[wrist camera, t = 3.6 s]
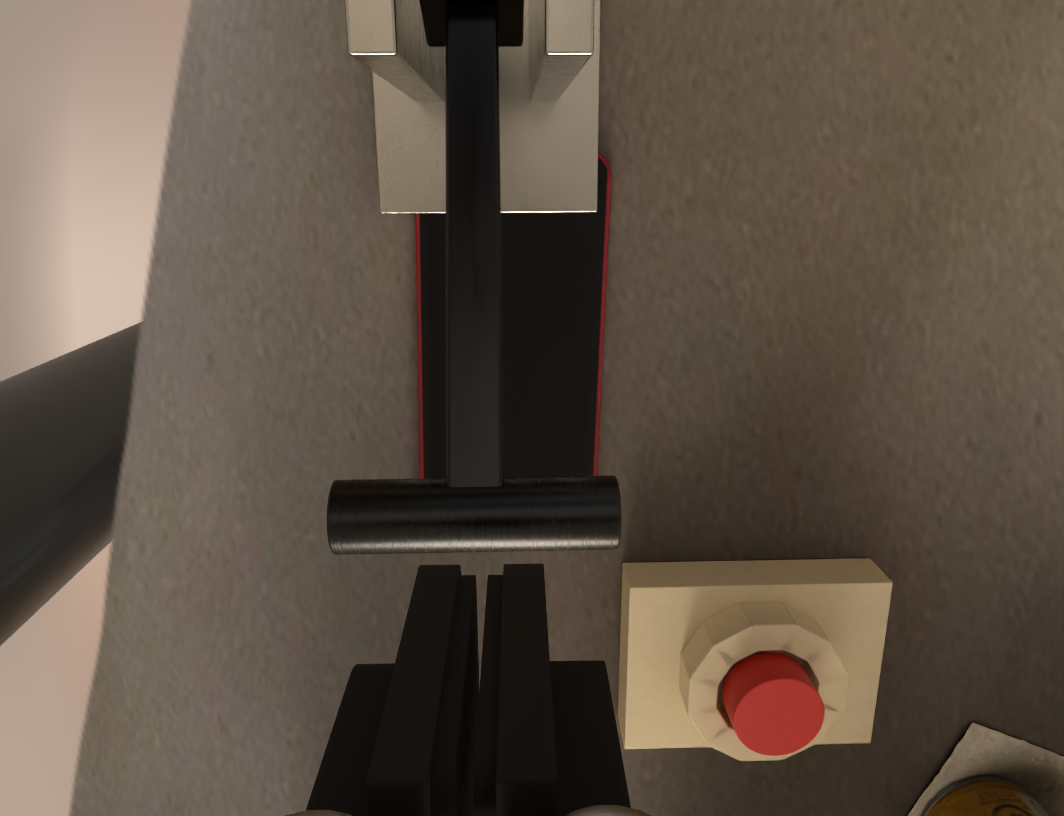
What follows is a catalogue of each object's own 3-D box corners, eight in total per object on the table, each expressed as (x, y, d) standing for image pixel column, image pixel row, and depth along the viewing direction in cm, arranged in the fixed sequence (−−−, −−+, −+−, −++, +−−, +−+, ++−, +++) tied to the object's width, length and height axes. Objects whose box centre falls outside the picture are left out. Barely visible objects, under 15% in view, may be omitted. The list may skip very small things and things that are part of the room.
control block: (617, 716, 37) (630, 779, 34) (622, 562, 35) (636, 611, 31) (850, 711, 38) (889, 772, 34) (870, 558, 35) (914, 605, 31)
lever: (610, 547, 17) (626, 551, 14) (347, 552, 17) (318, 557, 14) (591, -62, 19) (602, -147, 16) (356, -63, 19) (333, -148, 16)
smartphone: (613, 150, 30) (595, 522, 34) (610, 151, 30) (593, 513, 35) (413, 145, 29) (420, 521, 34) (416, 146, 30) (422, 512, 34)
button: (719, 727, 33) (730, 757, 32) (724, 652, 32) (736, 679, 31) (804, 725, 33) (820, 755, 32) (812, 651, 32) (829, 677, 31)
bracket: (594, 210, 31) (659, 244, 17) (384, 212, 30) (290, 247, 17) (600, -152, 27) (688, -454, 14) (364, -154, 27) (226, -462, 14)
